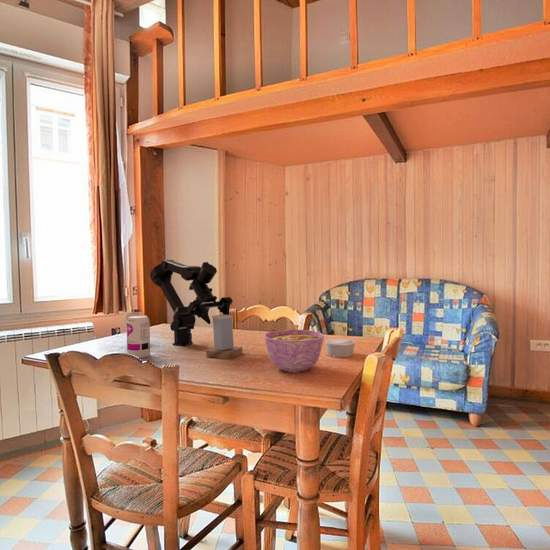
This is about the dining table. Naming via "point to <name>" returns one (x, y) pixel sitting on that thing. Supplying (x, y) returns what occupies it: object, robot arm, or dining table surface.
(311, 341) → the bowl of food
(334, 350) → the ramekin
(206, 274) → the robot arm
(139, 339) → the supplement can
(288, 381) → the dining table surface
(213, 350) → the brown square tray
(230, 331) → the tin
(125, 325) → the character mug
